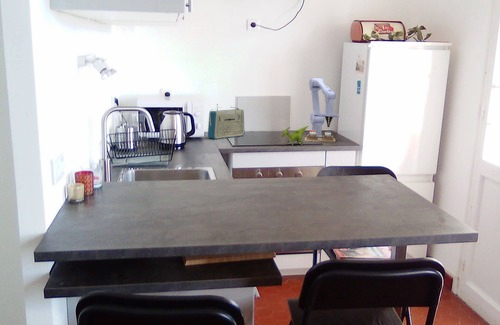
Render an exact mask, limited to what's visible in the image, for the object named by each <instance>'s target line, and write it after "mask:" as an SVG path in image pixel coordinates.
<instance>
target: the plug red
mask: <svg viewBox="0 0 500 325" xmlns="http://www.w3.org/2000/svg"><path fill="white" fill-rule="evenodd" d="M309 134H310V135H309V136H316V131H315V130H312V129H311V130H309Z"/></svg>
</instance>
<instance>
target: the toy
mask: <svg viewBox="0 0 500 325" xmlns="http://www.w3.org/2000/svg"><path fill="white" fill-rule="evenodd" d="M308 127H309V125H307V126H304V127H302V128H300V129H298V130H295V131H293V132H292V133H290V134H289V131H288V130H289V129H291V127H288V128H286V129H285V130H284V131H283V132H282V134H281V135H280V136H281V137H282V138H283V137H284V136H285V137H286V138H287V139H288V142H287V144H290V143H292V144H291V146H294V144H295V142H296V144H299V143H301V144H300V146H303V145H304V143H305V142H304V140H302V139H303V135H304V132H305V131H306V130H307V129H308Z"/></svg>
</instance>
